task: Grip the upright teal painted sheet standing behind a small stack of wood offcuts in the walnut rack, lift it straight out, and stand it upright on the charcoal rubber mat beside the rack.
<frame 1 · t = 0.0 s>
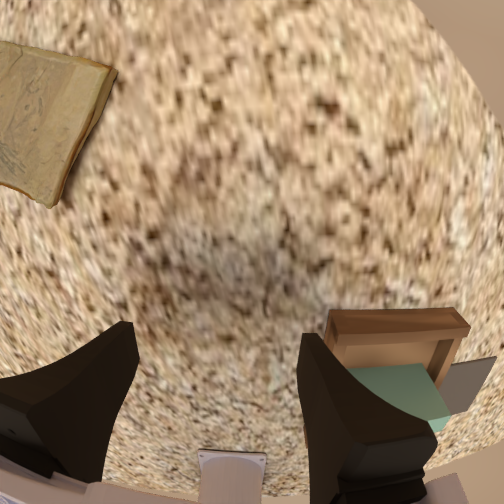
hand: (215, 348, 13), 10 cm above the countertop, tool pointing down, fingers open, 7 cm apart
rack: (376, 376, 26), on the countertop
mat: (453, 391, 28), on the countertop
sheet: (381, 374, 25), point 1 cm above the countertop, touching rack
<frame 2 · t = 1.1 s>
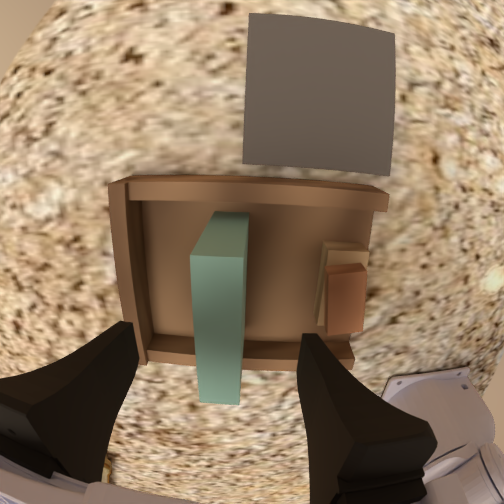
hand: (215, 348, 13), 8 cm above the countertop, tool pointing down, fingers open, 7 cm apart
rack: (247, 270, 20), on the countertop
offcut lower: (337, 279, 20), point 1 cm above the countertop, touching offcut upper, rack
mat: (323, 90, 16), on the countertop
offcut upper: (342, 295, 18), point 2 cm above the countertop, touching offcut lower
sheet: (230, 274, 20), point 1 cm above the countertop, touching rack
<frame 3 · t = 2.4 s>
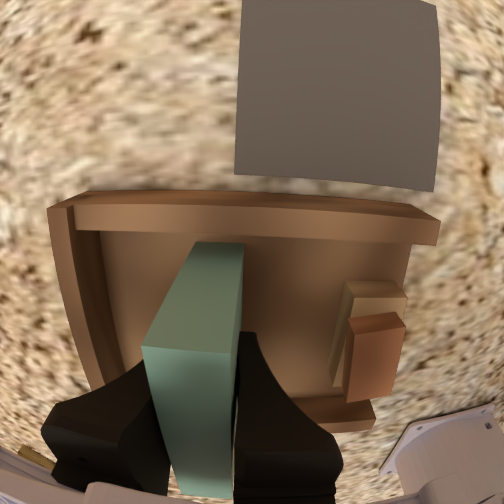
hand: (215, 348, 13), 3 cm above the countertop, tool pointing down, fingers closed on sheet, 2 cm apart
rack: (242, 315, 15), on the countertop
offcut lower: (360, 326, 14), point 1 cm above the countertop, touching offcut upper, rack
mat: (347, 72, 11), on the countertop
offcut upper: (367, 351, 13), point 2 cm above the countertop, touching offcut lower
stone slab: (68, 494, 29), on the countertop
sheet: (219, 323, 14), point 1 cm above the countertop, touching gripper, rack
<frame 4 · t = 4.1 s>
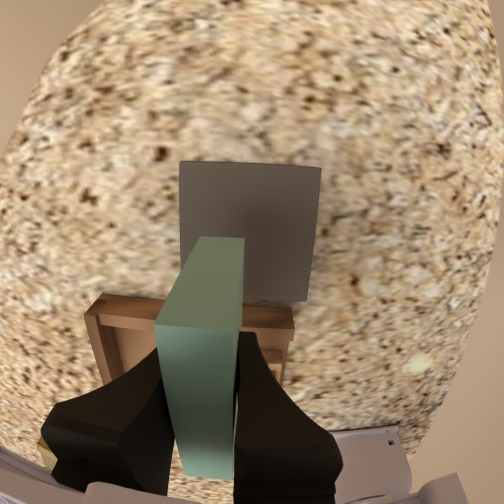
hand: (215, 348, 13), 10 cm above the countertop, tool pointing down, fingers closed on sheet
rack: (194, 362, 25), on the countertop
offcut lower: (262, 373, 24), point 1 cm above the countertop, touching offcut upper, rack
mat: (246, 234, 21), on the countertop
stone slab: (79, 480, 39), on the countertop
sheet: (221, 314, 15), point 7 cm above the countertop, touching gripper
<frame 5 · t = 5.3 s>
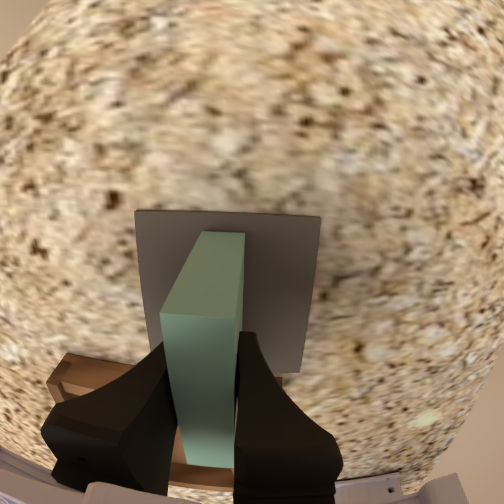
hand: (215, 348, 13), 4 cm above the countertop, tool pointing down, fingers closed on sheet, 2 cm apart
rack: (174, 424, 21), on the countertop
mat: (224, 300, 17), on the countertop
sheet: (223, 306, 16), point 1 cm above the countertop, touching gripper
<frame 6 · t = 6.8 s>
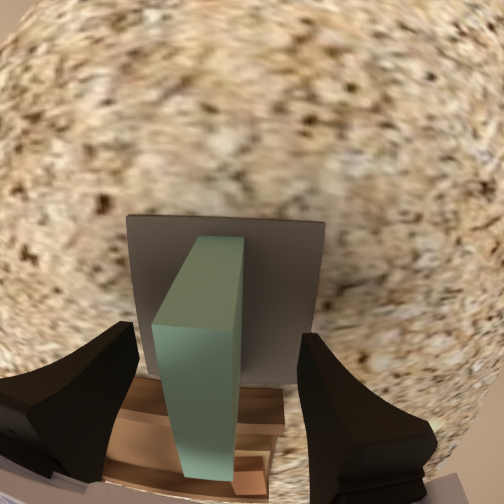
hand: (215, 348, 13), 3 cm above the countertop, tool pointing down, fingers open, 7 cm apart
rack: (171, 434, 20), on the countertop
offcut lower: (249, 450, 19), point 1 cm above the countertop, touching offcut upper, rack
mat: (222, 310, 16), on the countertop
offcut upper: (248, 470, 17), point 2 cm above the countertop, touching offcut lower
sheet: (221, 313, 15), resting on mat
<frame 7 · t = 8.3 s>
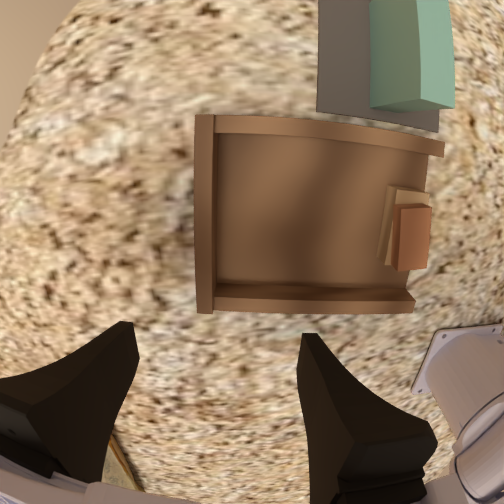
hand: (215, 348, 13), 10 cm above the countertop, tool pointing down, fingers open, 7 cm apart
rack: (316, 213, 21), on the countertop
offcut lower: (398, 222, 20), point 1 cm above the countertop, touching offcut upper, rack
mat: (382, 56, 16), on the countertop
offcut upper: (407, 234, 18), point 2 cm above the countertop, touching offcut lower
stone slab: (102, 460, 35), on the countertop
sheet: (384, 55, 16), resting on mat
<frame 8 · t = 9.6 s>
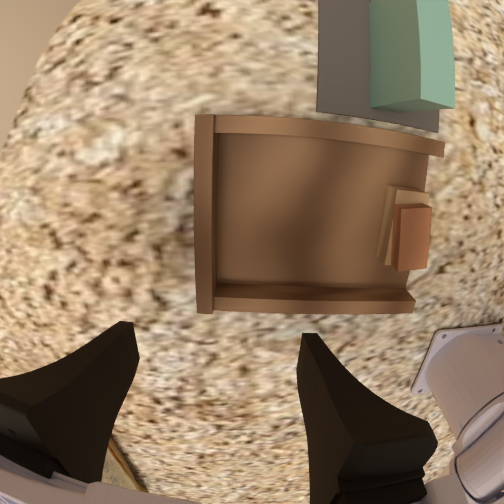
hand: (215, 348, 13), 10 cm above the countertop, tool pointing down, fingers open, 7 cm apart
rack: (316, 213, 21), on the countertop
offcut lower: (398, 222, 20), point 1 cm above the countertop, touching offcut upper, rack
mat: (382, 56, 16), on the countertop
offcut upper: (407, 234, 18), point 2 cm above the countertop, touching offcut lower
stone slab: (103, 460, 35), on the countertop
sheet: (384, 55, 16), resting on mat
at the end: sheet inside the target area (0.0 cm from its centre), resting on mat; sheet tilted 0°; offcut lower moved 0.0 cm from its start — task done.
